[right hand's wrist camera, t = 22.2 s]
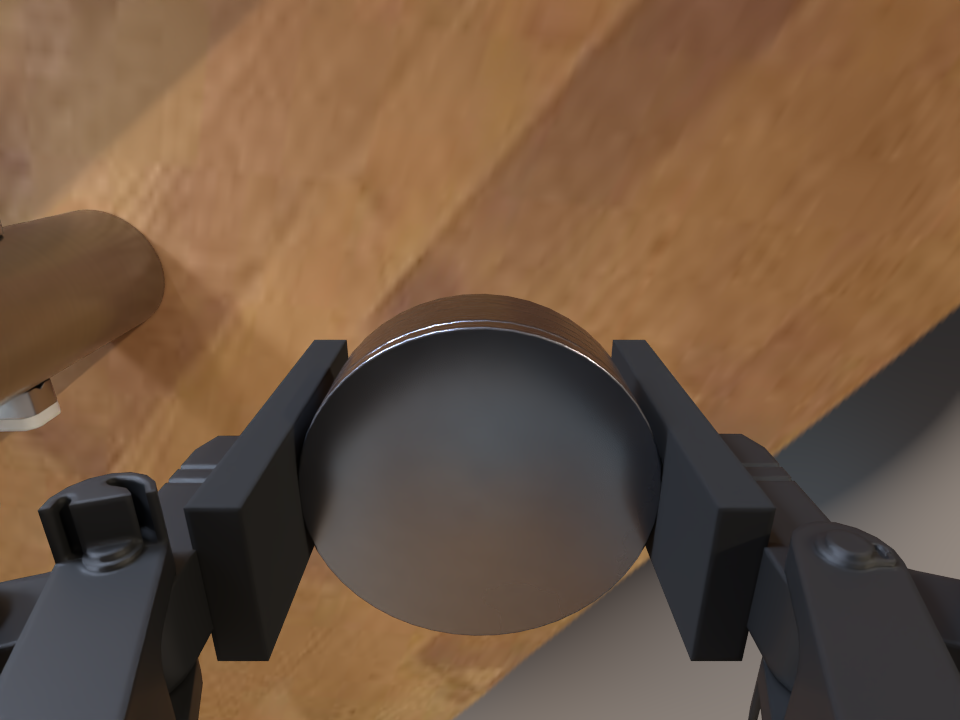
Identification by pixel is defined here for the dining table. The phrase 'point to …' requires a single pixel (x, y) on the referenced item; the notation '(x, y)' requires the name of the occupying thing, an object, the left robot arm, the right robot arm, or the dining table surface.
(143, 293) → the metal thermos flask
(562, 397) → the lid
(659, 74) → the dining table surface
